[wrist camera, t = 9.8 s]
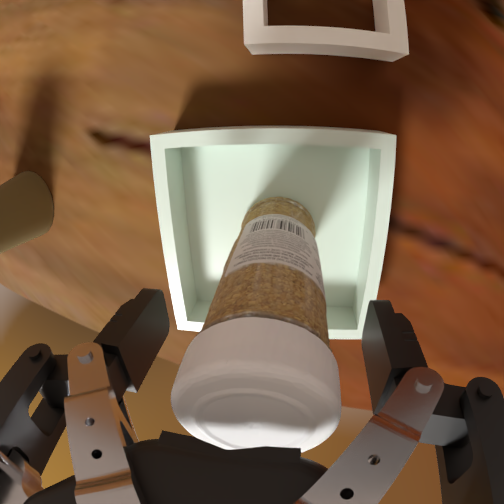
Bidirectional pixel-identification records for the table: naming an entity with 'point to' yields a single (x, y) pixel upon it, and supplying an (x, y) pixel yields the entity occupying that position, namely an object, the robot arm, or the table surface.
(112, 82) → the table surface
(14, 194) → the pepper mill
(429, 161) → the table surface
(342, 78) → the table surface
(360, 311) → the tray
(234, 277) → the sprinkles bottle
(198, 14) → the table surface
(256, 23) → the collar
